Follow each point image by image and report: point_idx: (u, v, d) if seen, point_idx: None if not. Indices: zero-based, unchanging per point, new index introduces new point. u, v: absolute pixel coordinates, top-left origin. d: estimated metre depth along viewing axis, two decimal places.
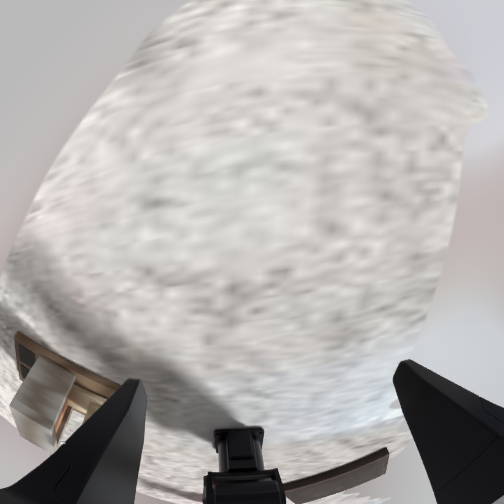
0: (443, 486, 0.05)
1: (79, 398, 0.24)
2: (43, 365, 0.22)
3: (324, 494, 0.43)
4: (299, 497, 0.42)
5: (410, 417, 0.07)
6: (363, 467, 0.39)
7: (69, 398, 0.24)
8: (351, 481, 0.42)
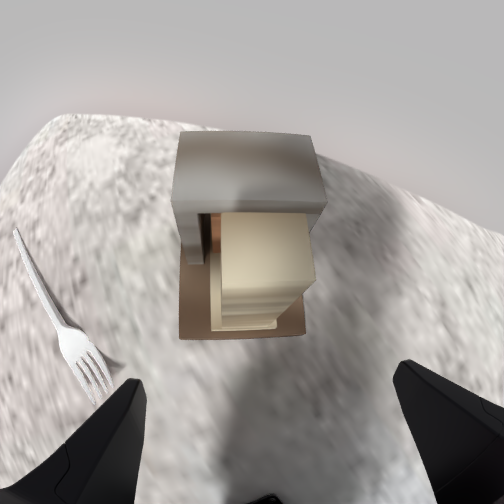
0: (443, 486, 0.05)
1: None
2: None
3: None
4: None
5: (411, 417, 0.07)
6: None
7: None
8: None
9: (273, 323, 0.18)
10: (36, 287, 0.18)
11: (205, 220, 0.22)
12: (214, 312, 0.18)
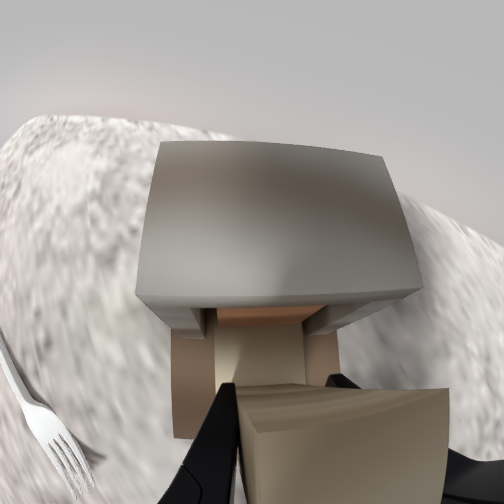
0: None
1: (277, 355, 0.13)
2: None
3: None
4: None
5: None
6: None
7: (251, 329, 0.13)
8: None
9: None
10: None
11: None
12: None
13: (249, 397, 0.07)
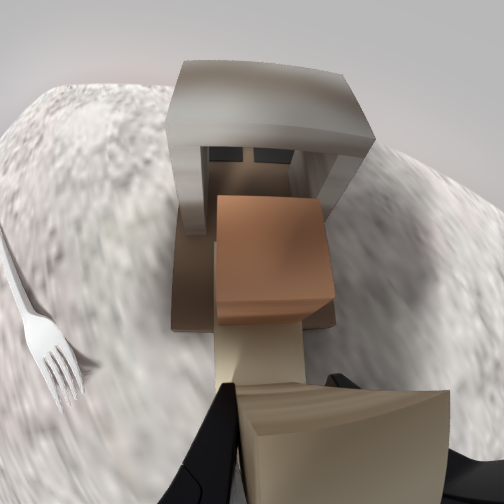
0: None
1: (277, 353, 0.13)
2: None
3: None
4: None
5: None
6: None
7: (251, 327, 0.13)
8: None
9: None
10: (5, 267, 0.14)
11: (209, 183, 0.18)
12: None
13: (249, 397, 0.07)
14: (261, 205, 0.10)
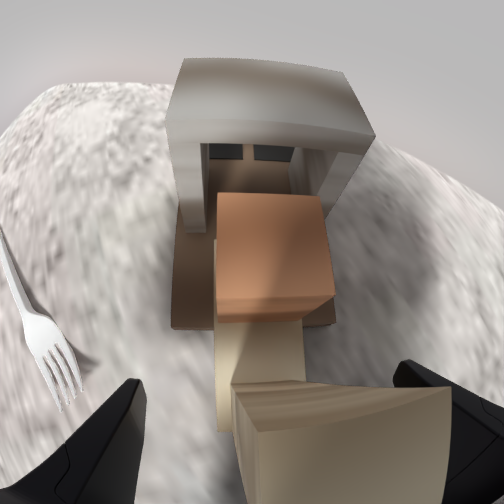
0: None
1: (277, 351, 0.13)
2: None
3: None
4: None
5: None
6: None
7: (251, 325, 0.13)
8: None
9: None
10: (4, 266, 0.14)
11: (209, 181, 0.18)
12: (221, 409, 0.11)
13: (249, 394, 0.07)
14: (261, 202, 0.10)
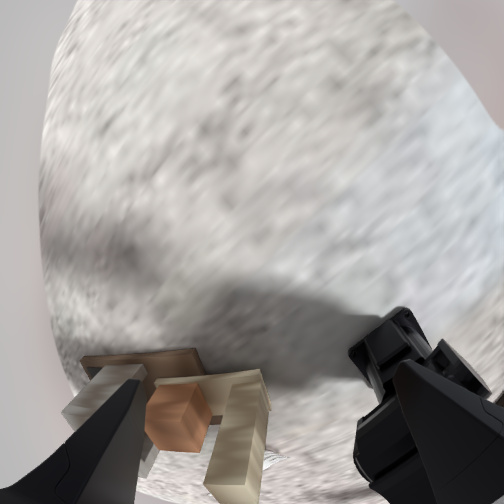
0: (443, 486, 0.05)
1: (218, 391, 0.22)
2: (108, 370, 0.23)
3: None
4: None
5: (411, 417, 0.07)
6: None
7: (208, 402, 0.22)
8: None
9: (256, 376, 0.21)
10: None
11: None
12: None
13: None
14: (154, 438, 0.18)
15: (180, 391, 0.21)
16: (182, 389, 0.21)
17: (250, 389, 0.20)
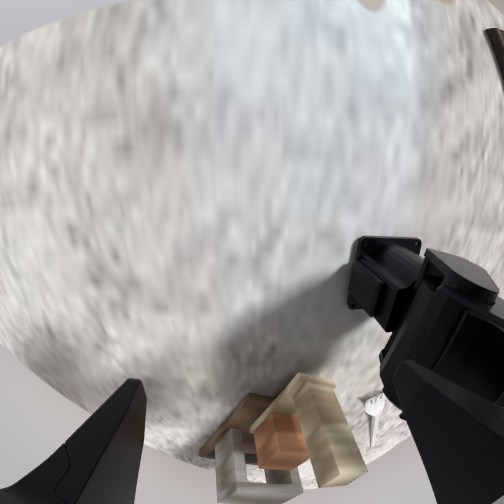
0: (443, 486, 0.05)
1: (289, 405, 0.24)
2: (218, 448, 0.26)
3: None
4: None
5: (411, 418, 0.07)
6: None
7: (292, 414, 0.25)
8: None
9: (300, 380, 0.23)
10: (376, 429, 0.32)
11: None
12: None
13: None
14: (281, 468, 0.21)
15: (267, 427, 0.24)
16: (267, 424, 0.24)
17: (304, 392, 0.23)
